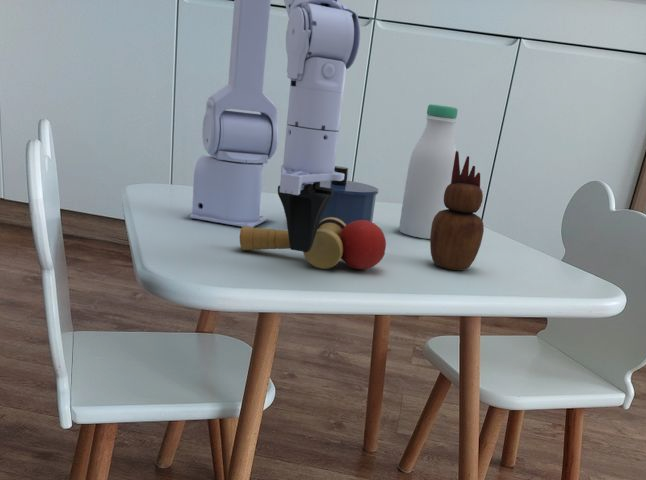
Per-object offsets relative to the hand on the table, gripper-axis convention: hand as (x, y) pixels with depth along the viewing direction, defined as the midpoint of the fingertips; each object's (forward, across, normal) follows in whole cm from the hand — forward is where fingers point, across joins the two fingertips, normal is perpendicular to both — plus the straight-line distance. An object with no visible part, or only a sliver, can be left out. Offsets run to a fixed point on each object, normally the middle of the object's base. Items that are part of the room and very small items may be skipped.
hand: (300, 249), depth 79 cm
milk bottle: (+3, +36, -11) cm, 37 cm away
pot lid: (-4, +27, +2) cm, 27 cm away
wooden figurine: (+3, +16, -17) cm, 23 cm away
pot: (+3, +27, +2) cm, 27 cm away
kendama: (+3, +6, 0) cm, 6 cm away
